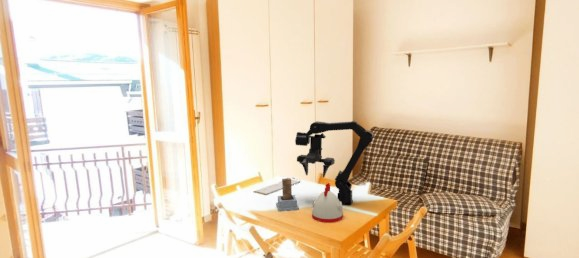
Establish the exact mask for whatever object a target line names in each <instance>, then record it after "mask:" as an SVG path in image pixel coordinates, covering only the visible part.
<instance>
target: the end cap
mask: <svg viewBox="0 0 579 258" xmlns="http://www.w3.org/2000/svg"><path fill="white" fill-rule="evenodd" d="M275 204H276V208H277V211H278V212H287V211H288V212H289V211H299V210H300V207H299V205H298V199H297V197H296V195H295V194H292V200H283V195H278V196H277V202H275Z"/></svg>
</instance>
